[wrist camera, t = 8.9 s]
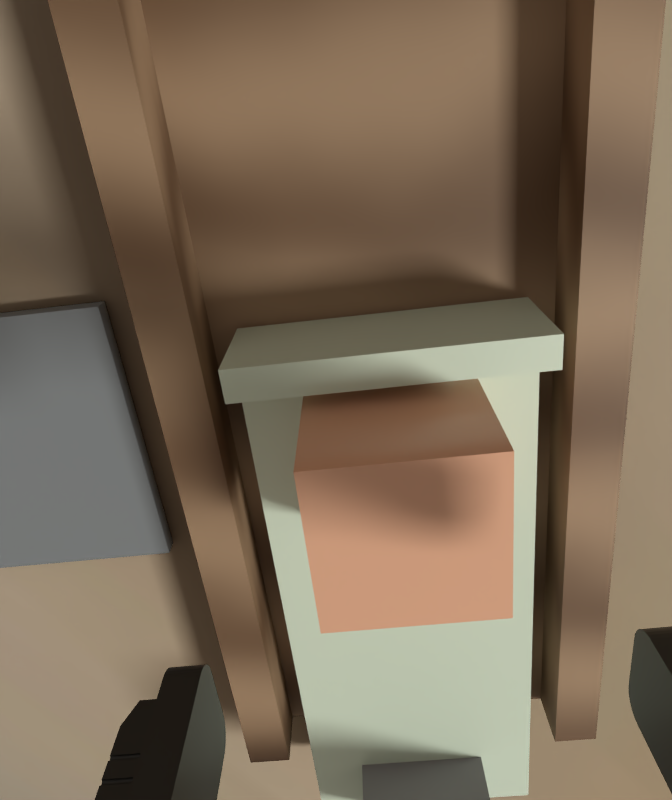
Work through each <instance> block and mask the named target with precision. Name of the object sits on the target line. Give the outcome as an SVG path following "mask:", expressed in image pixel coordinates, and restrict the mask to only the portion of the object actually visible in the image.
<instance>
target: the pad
mask: <svg viewBox="0 0 672 800" xmlns="http://www.w3.org/2000/svg"><path fill="white" fill-rule="evenodd" d="M172 544H173V541H172V538H171V534H170V531H169V527H168V524H167V520H166V517H165V513H164V510H163V506H162V502H161V499H160V495H159V492H158V488H157V485H156V481H155V478H154V474H153V471H152V467H151V464H150V460H149V457H148V453H147V450H146V446H145V442H144V439H143V435H142V432H141V428H140V425H139V421H138V418H137V414H136V411H135V407H134V404H133V400H132V397H131V393H130V390H129V386H128V382H127V379H126V375H125V372H124V368H123V365H122V361H121V358H120V354H119V351H118V347H117V344H116V340H115V337H114V333H113V330H112V326H111V322H110V319H109V315H108V312H107V308H106V305H105V301H103V302H94V303H85V304H76V305H67V306H58V307H49V308H40V309H32V310H23V311H14V312H5V313H0V568H3V567H15V566H26V565H37V564H48V563H60V562H71V561H82V560H93V559H105V558H116V557H127V556H138V555H149V554H161V553H169V552H170V549H171V547H172Z"/></svg>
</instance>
